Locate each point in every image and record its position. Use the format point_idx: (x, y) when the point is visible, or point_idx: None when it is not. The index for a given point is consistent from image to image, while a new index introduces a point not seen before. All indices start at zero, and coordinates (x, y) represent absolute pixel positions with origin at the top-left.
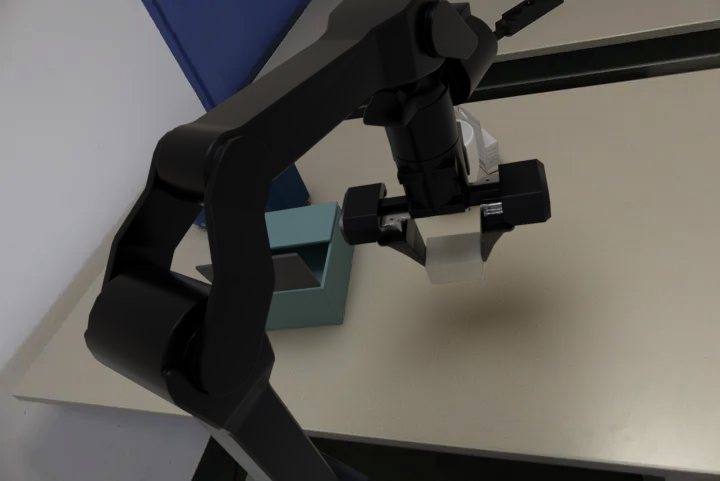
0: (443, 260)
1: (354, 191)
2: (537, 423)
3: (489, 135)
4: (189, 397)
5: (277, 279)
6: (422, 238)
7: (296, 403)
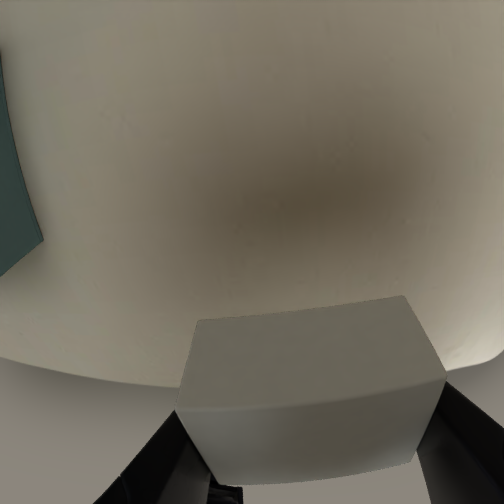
0: (282, 477)
1: None
2: None
3: None
4: None
5: None
6: (173, 474)
7: (62, 355)
